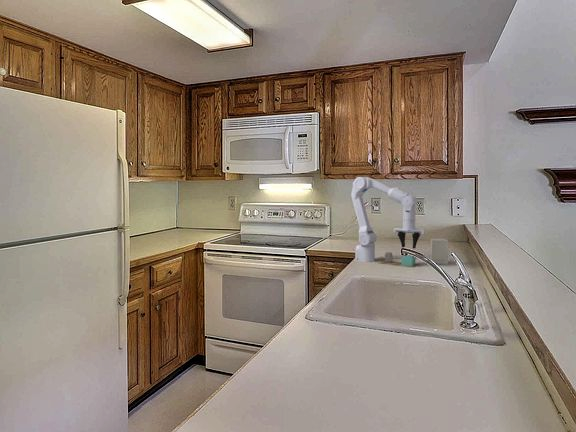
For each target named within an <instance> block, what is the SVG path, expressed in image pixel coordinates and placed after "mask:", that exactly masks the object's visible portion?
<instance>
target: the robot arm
mask: <svg viewBox="0 0 576 432" xmlns="http://www.w3.org/2000/svg"><path fill="white" fill-rule="evenodd" d="M369 189H376V190H378V191H380V192H382V193H384V194H387V196H388V198H389V199H391V200H393V201H395V202H397V203H399V204H401V205H402V207H403V208H402V227H394V228H393V233H397V237H398V238H399V241H400V244H401V248H403V249H404V248H406V233H407V234H411V235H412V249H414V250H415V249H416V247H417V244H418V240H419V238H420V237H421V235H425V232H426V230H425V229H420V228H416V205H417V203H418V200H417V197H416V196H415V195H413V194H409V192H408V191H407V192H405V191H403V190H401V188H400V187H398V186H397V187H392V188H391V187H389V186H387V185H386V184H384V183H382V182H380V181H378V180H376V179H374V178H370V177H368V176H363V177H362V176H357V177H356V178H355V179H354V181H353V182H352V188H351V193H350V195H351V200H352V205H353V208H354V212H355V215H356V219H357V222H358V227H359V230H358V242H359V244H357V245H356V246H355V251H354V252H355V253H354V254H355V255H354V256H355V257H354V258H355V261H356V262H364V263H374V262H375V261H376V260H375V259H376V257H375V256H376V255H375V254H376V251H375V250H376V247H375V246H376V245H375V243H376V241H377V234H376V233H375V232H374V230H373V228H372V227H371V224H370V221H369V217H368V215H367V210H366V207H365V203H364V198H363V196H364V194H365V193H366V191H368V190H369Z"/></svg>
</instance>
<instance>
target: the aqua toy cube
mask: <svg viewBox="0 0 576 432" xmlns="http://www.w3.org/2000/svg"><path fill="white" fill-rule="evenodd" d="M400 255H401V254H400ZM400 262H401V265H403V266H402V267H404V266H414V265H415V264H416V257H414V256H411V255H408V256H402V255H401V261H400Z"/></svg>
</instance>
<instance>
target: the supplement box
mask: <svg viewBox="0 0 576 432" xmlns="http://www.w3.org/2000/svg"><path fill="white" fill-rule="evenodd" d="M429 257H430V259H431V260H432V261H434V262H435V263H437V264H436V265H449V240H448V239H446V238H430V256H429ZM430 259H429V260H430Z"/></svg>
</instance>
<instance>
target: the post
mask: <svg viewBox="0 0 576 432" xmlns="http://www.w3.org/2000/svg"><path fill="white" fill-rule="evenodd" d="M384 255H385V258H384V260H385V263H392V261H393V252H391V251H390V252H389V251H387V252H385V254H384Z"/></svg>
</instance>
